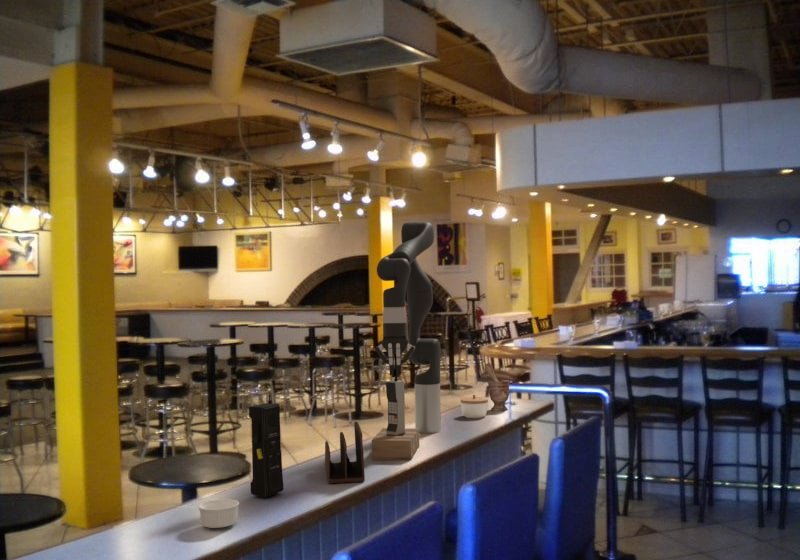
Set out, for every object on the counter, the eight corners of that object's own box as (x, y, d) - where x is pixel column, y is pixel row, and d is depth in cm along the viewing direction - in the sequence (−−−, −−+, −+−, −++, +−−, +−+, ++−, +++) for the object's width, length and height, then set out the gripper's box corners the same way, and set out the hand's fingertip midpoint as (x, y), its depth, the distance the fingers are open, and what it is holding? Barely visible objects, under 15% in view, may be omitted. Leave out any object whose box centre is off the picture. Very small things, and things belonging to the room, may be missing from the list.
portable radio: (265, 498, 194) (264, 398, 195) (247, 496, 197) (245, 397, 198) (285, 491, 201) (283, 394, 201) (266, 488, 204) (265, 393, 204)
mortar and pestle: (478, 412, 320) (477, 364, 321) (488, 409, 327) (487, 362, 328) (503, 414, 314) (502, 365, 314) (513, 411, 321) (512, 363, 321)
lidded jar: (474, 415, 314) (474, 392, 314) (493, 418, 305) (493, 394, 305) (455, 418, 307) (454, 395, 307) (474, 422, 298) (473, 397, 299)
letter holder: (358, 465, 230) (357, 417, 230) (364, 482, 210) (364, 429, 210) (324, 467, 228) (323, 419, 228) (327, 484, 209) (327, 431, 209)
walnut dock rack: (383, 446, 256) (382, 428, 256) (419, 446, 254) (419, 428, 254) (371, 460, 236) (371, 440, 236) (411, 460, 234) (410, 440, 234)
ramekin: (192, 528, 172) (191, 508, 172) (209, 516, 180) (209, 497, 180) (229, 530, 170) (229, 510, 170) (245, 518, 179) (245, 499, 179)
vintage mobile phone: (386, 434, 244) (385, 355, 244) (395, 432, 248) (394, 353, 248) (396, 436, 242) (395, 355, 241) (404, 433, 246) (403, 354, 246)
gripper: (417, 321, 248) (418, 375, 247) (375, 321, 250) (376, 375, 249) (414, 321, 240) (415, 377, 240) (371, 322, 242) (372, 378, 242)
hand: (395, 376), depth 245 cm, fingers closed
